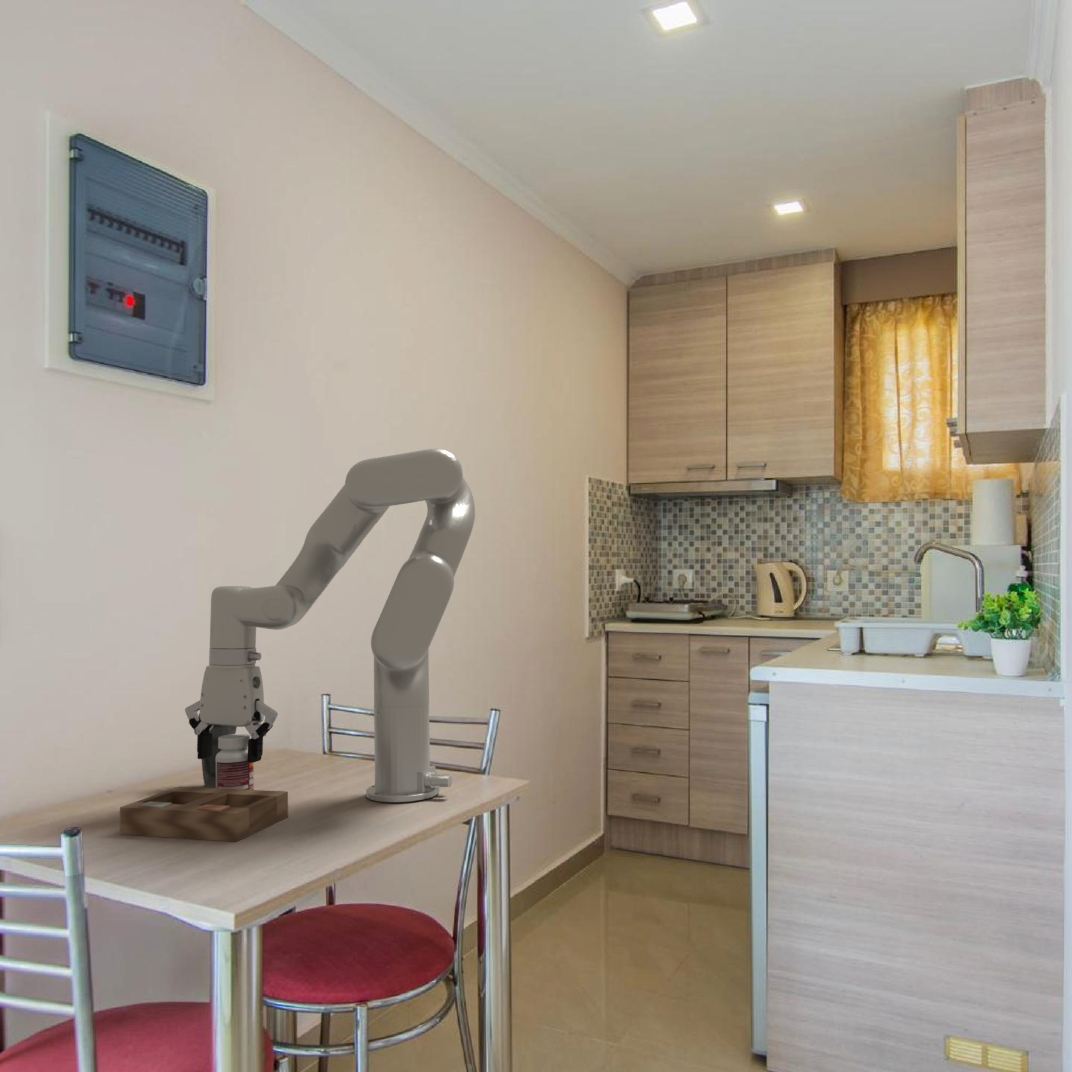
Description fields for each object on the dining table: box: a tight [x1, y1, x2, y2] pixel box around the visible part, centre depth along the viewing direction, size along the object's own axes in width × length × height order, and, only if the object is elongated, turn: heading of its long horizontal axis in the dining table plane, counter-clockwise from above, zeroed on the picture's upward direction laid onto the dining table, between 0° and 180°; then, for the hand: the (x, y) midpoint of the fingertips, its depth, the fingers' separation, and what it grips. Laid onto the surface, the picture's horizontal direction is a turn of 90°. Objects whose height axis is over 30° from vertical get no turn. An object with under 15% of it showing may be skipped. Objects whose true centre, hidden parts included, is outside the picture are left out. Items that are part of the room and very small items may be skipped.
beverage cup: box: [198, 712, 238, 788], centre depth 171 cm, size 7×7×20 cm
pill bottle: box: [215, 733, 255, 790], centre depth 157 cm, size 6×6×11 cm
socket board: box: [119, 786, 289, 843], centre depth 143 cm, size 20×14×4 cm
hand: (229, 759), depth 157 cm, fingers open, 9 cm apart
